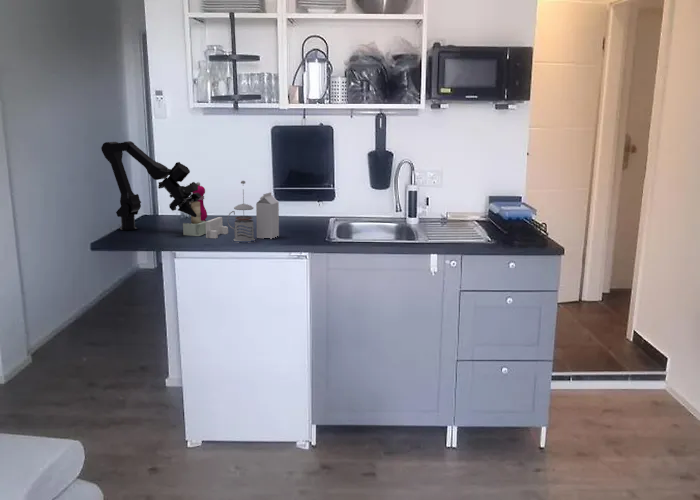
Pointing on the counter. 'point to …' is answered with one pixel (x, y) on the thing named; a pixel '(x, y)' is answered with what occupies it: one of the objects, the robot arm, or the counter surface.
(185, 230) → the cradle
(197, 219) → the dowel
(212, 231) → the backstop wall
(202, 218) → the pepper mill
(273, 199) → the milk carton
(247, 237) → the french press
